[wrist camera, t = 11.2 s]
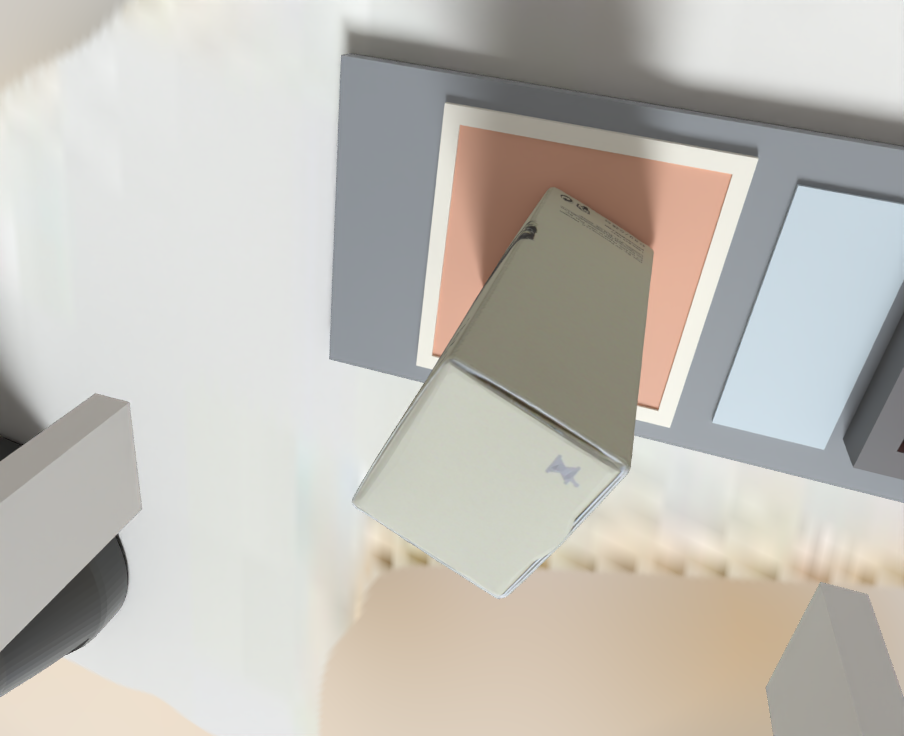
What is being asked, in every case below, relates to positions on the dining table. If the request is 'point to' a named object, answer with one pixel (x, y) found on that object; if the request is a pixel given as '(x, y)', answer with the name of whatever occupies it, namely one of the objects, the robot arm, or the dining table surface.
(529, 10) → the dining table surface
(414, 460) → the box
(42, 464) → the robot arm
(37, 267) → the dining table surface
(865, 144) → the picture board
